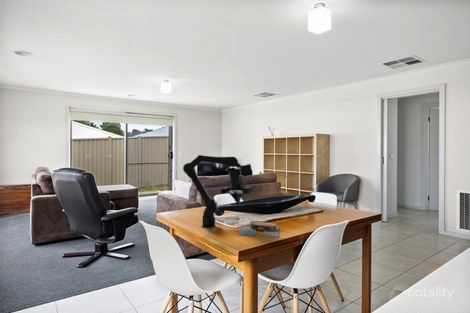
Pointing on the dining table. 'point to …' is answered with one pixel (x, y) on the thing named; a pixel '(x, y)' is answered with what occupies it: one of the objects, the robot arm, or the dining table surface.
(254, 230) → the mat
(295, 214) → the dining table surface
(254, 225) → the tin
